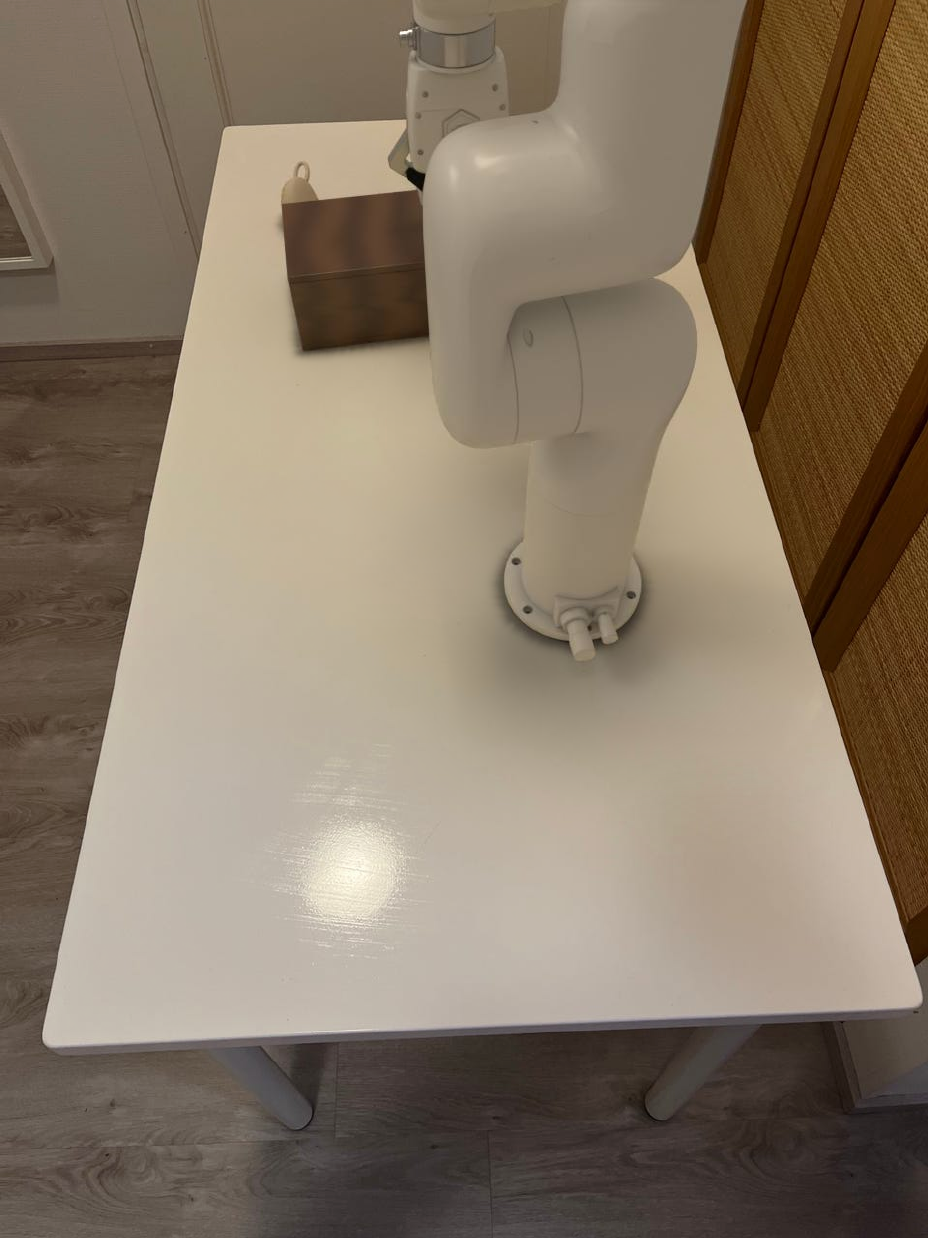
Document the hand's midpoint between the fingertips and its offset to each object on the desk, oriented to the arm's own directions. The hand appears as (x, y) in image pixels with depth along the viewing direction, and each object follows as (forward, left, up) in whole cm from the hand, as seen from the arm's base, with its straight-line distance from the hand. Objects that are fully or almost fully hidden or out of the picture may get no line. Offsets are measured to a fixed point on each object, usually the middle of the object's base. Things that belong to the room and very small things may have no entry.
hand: (459, 219), depth 96 cm
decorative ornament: (+19, +18, -10) cm, 28 cm away
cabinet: (0, +12, -10) cm, 15 cm away
